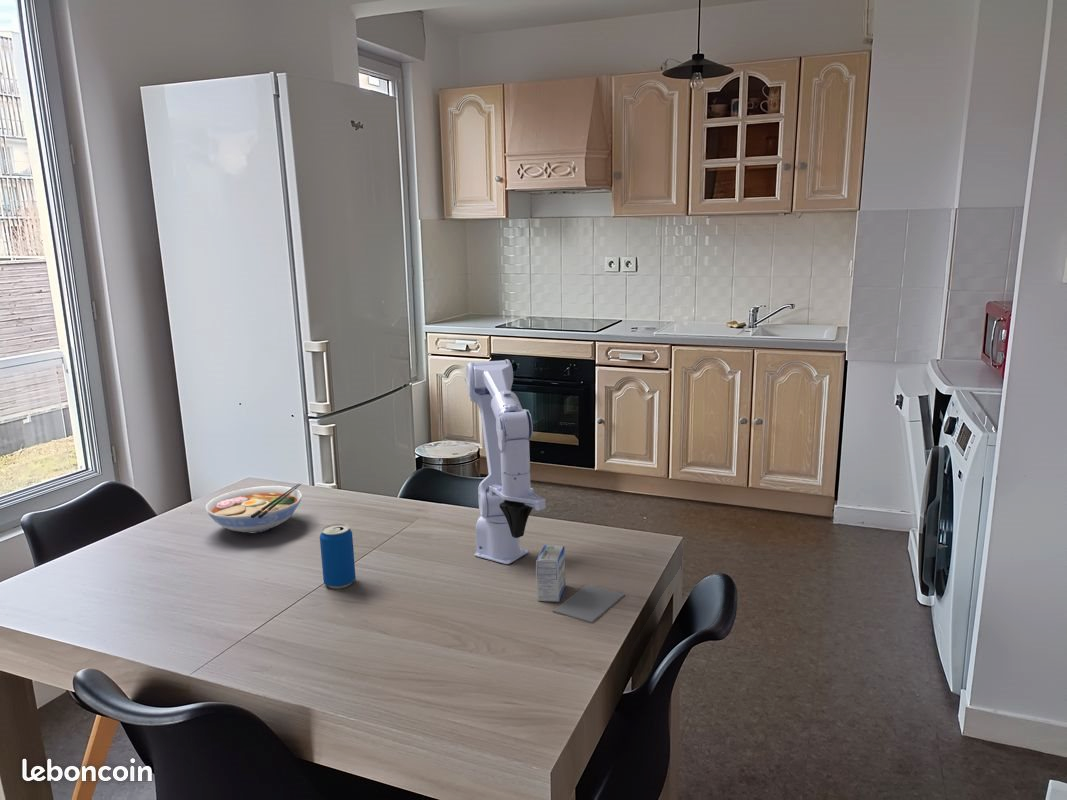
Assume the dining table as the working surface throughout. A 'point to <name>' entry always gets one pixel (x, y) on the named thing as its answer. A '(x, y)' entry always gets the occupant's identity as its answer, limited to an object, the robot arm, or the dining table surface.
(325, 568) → the beverage can
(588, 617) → the mat
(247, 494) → the ramen bowl
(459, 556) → the dining table surface
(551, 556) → the medicine box
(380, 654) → the dining table surface
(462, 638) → the dining table surface
